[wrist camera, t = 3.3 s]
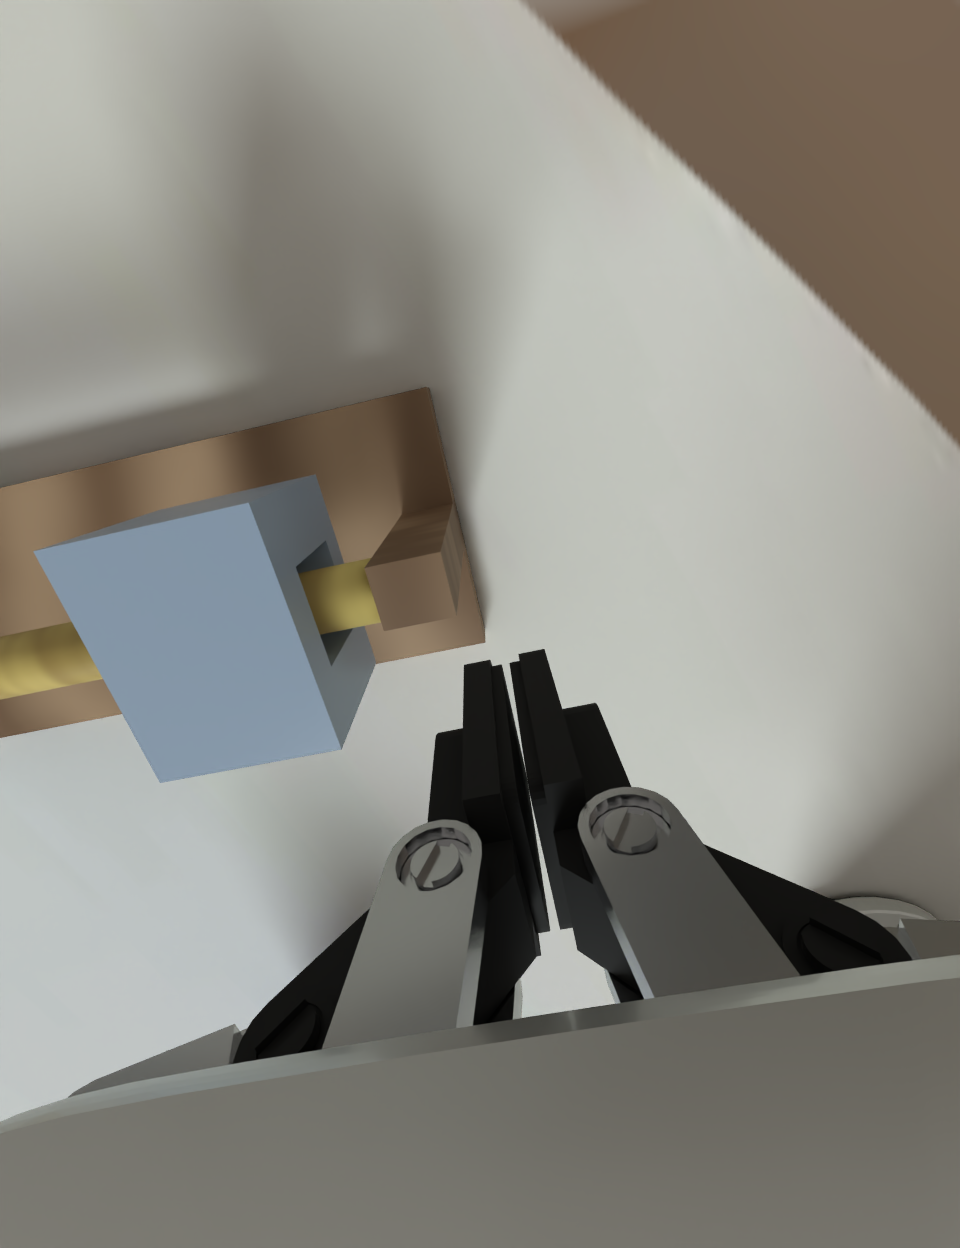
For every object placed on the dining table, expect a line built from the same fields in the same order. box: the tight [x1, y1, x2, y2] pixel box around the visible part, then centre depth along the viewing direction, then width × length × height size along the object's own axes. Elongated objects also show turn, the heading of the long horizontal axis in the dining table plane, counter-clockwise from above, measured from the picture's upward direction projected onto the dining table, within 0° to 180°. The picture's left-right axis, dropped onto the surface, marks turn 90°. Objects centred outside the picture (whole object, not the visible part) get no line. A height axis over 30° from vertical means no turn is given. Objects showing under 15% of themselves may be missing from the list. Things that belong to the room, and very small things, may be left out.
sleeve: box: [33, 474, 376, 783], centre depth 15 cm, size 5×6×5 cm
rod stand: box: [0, 387, 485, 738], centre depth 18 cm, size 26×10×10 cm, turn 102°
